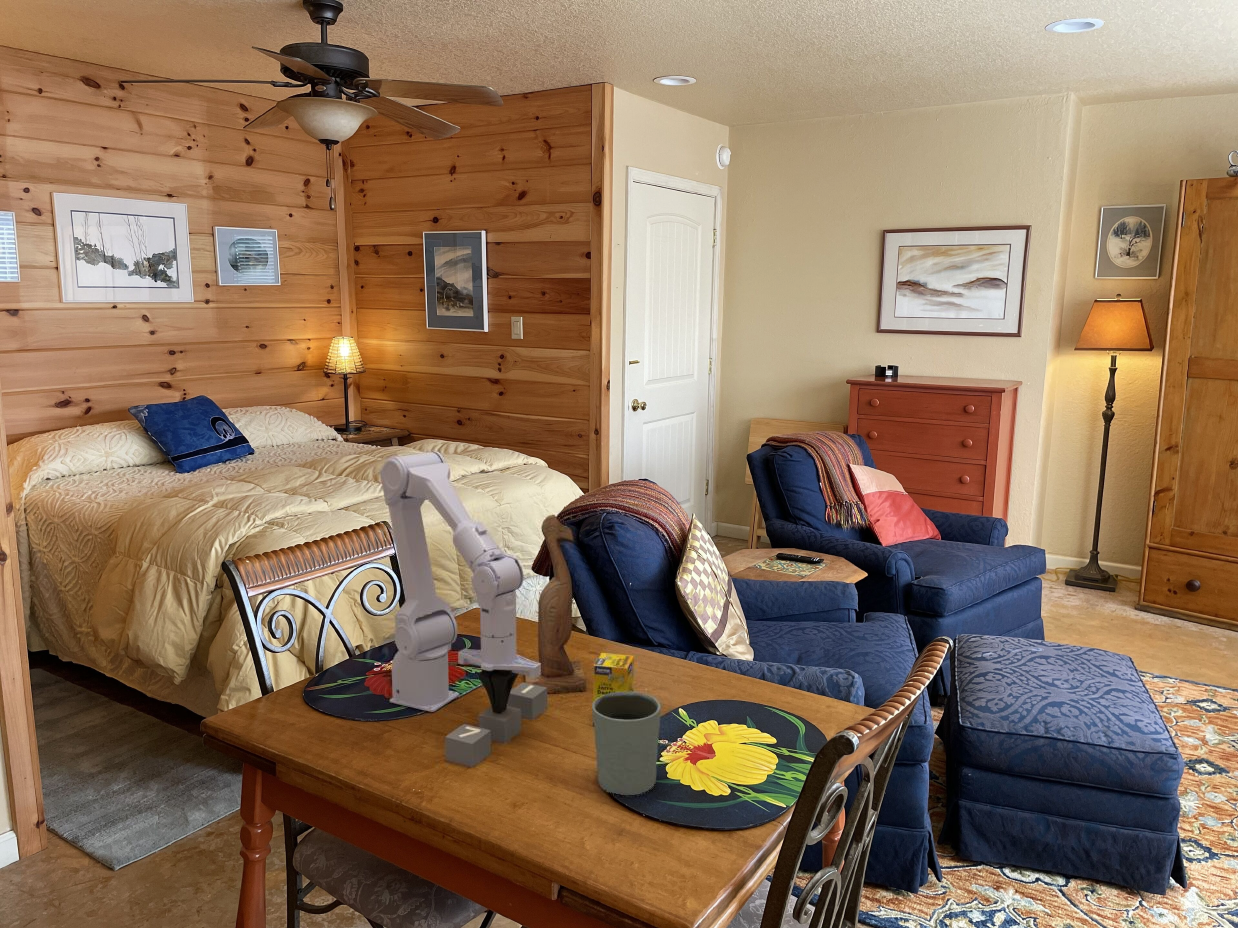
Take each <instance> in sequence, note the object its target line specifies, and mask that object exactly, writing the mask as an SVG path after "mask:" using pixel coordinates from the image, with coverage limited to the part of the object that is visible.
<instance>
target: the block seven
mask: <svg viewBox="0 0 1238 928" xmlns="http://www.w3.org/2000/svg"><path fill="white" fill-rule="evenodd" d="M444 741H445V743H444V746H445V761H447V762H451V763H453V764H459V765H462V766H465V767H469V768H474V767H475V766H477V765H478V764H479V763H481V762H482V761H483V760H484V759H486V758H487V757H489V756H490V755H491V754H492V741H491V730H487V729H483V728H479V726H474V725H471V724H468V723H467V724H466V723H463V724H462V725H460V726H458V727H457V728H456V729H455V730H453V731H452V732H450V733H449V734H447V735H446V736H445V737H444Z"/></svg>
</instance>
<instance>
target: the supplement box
mask: <svg viewBox="0 0 1238 928" xmlns="http://www.w3.org/2000/svg"><path fill="white" fill-rule="evenodd" d="M634 661H635V656H634V655H629V654H615V653H609V652H608V653H607V652H601V653H600V655H599V657H598V658H597V659H596V661H595V663H594V664H593V669H592V671H593V674H592V677H593V678H592V680H593V682H592V684H593V685H592V687H593V688H592V690H593V691H592V693H593V694H592V704H593V703H594V701H595V700H596V699H597V698H599V697H601V696H603V695H606V694H609V693H615V692H634V678H635V677H634V675H635V673H634V671H635V669H634V667H635V665H634ZM592 727H593V728H594V722H593V721H592Z"/></svg>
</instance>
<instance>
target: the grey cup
mask: <svg viewBox="0 0 1238 928" xmlns="http://www.w3.org/2000/svg"><path fill="white" fill-rule="evenodd" d="M591 708H592V709H591V710H592V723H593V722H594V727H593V729H594V731H593V732H594V745H595V750H596V755H595V757H596V767H597V781H598V785H599V787H600V788H601V789H602V790H603V791H605V790H606V791H605V792H606V793H609V792H610V793H611V792H612V793H616V794H621V795H635V794H640V793H642V792H645V791H648V790H649V789H651V788H652V787H653V786H654V787H655V785H654V784H656V782H657V761H658V760H657V758H658V752H659V750H658V743H659V733H660V726H661V725H660V724H661V712H662V709H661V708H662V705H661V703H660V702H659V700H658V699H657V698H655V697H653V696H651V695H650V694H646V693H642V692H637V691H633V692H615V693H609V694H606V695H603V696H601V697H599V698H597V699H596V700H595V701H594V703H593V702H592V706H591ZM654 787H653V788H654ZM653 788H652V789H653ZM652 789H651V790H652ZM648 792H649V791H648ZM610 793H609V794H610Z"/></svg>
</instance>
